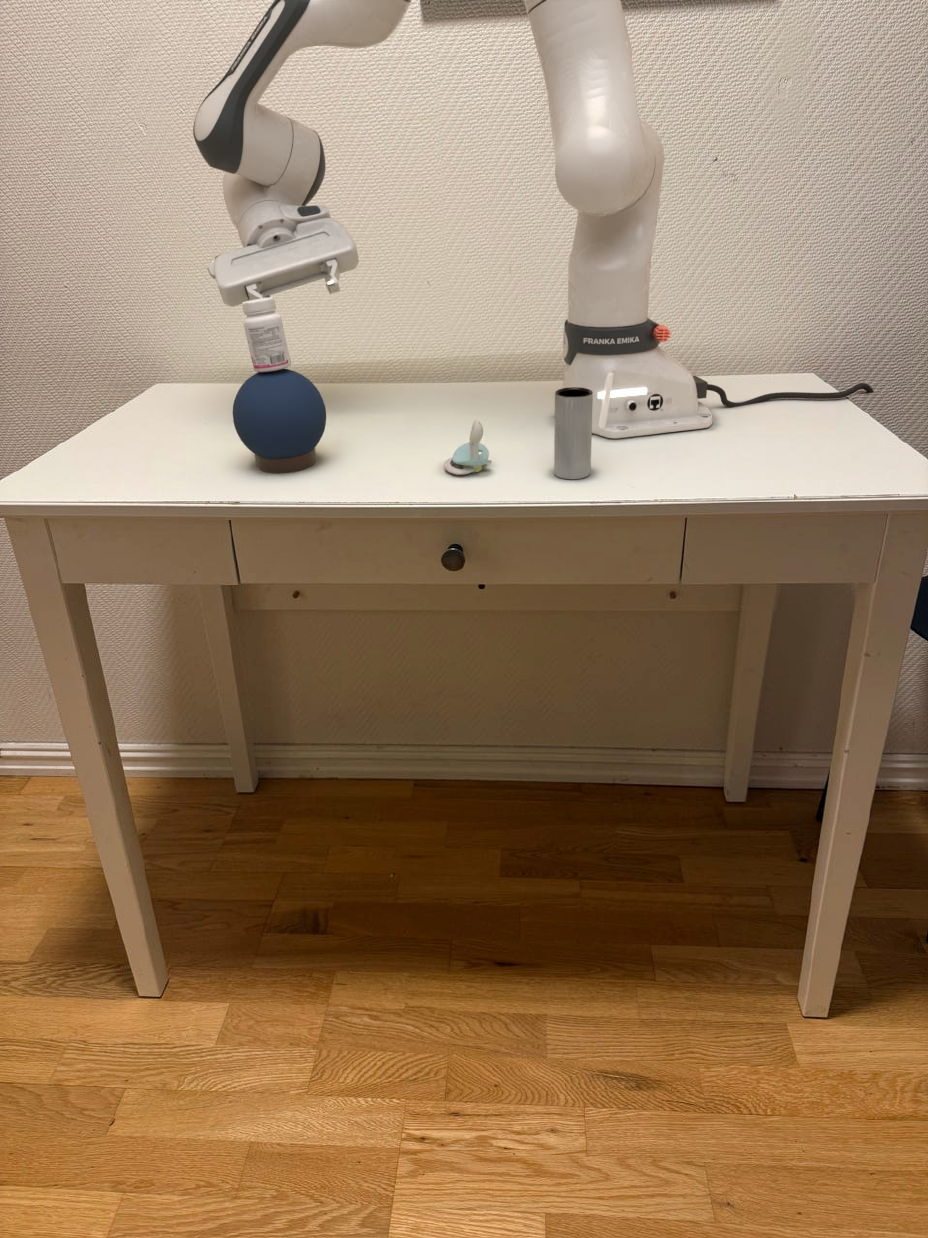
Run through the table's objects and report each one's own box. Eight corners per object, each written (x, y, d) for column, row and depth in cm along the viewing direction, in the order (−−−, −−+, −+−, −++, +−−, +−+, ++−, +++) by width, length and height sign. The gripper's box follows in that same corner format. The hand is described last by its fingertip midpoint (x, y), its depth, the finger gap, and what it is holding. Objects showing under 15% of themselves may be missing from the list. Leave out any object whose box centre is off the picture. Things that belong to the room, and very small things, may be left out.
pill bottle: (261, 367, 119) (246, 300, 115) (296, 363, 118) (282, 295, 114) (249, 374, 114) (233, 304, 111) (285, 370, 114) (270, 299, 110)
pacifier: (445, 480, 114) (493, 476, 114) (441, 432, 111) (490, 427, 111) (443, 461, 121) (488, 457, 121) (439, 415, 118) (485, 411, 118)
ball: (334, 443, 127) (324, 356, 122) (327, 472, 117) (316, 378, 111) (248, 447, 127) (234, 360, 121) (233, 477, 116) (217, 383, 111)
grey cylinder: (588, 480, 112) (591, 397, 107) (552, 479, 113) (552, 396, 108) (591, 468, 116) (594, 387, 111) (556, 466, 117) (557, 386, 112)
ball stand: (319, 452, 126) (317, 438, 125) (313, 471, 119) (311, 456, 118) (261, 455, 126) (258, 441, 125) (252, 474, 119) (249, 460, 118)
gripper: (197, 241, 128) (222, 302, 121) (335, 201, 131) (367, 258, 124) (210, 279, 133) (235, 339, 126) (343, 239, 136) (373, 295, 129)
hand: (301, 298), depth 125 cm, fingers open, 8 cm apart
